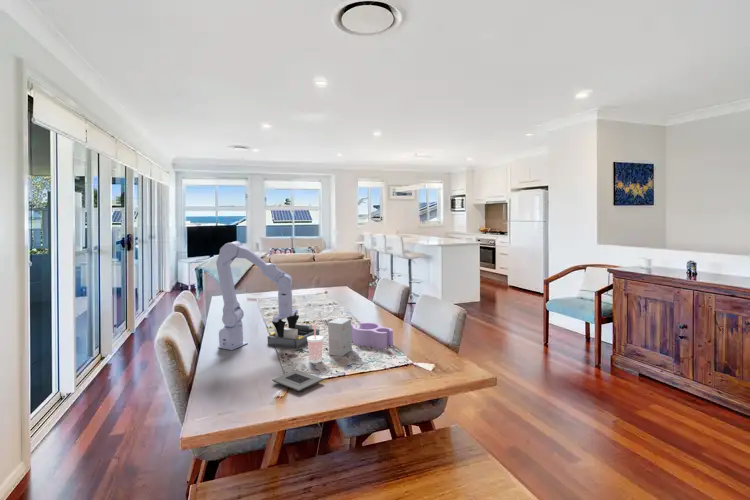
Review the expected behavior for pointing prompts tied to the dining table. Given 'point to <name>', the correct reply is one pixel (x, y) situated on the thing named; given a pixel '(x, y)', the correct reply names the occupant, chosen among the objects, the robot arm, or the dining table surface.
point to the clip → (372, 335)
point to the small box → (339, 336)
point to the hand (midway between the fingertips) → (286, 334)
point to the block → (289, 333)
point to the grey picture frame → (297, 380)
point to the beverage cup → (315, 347)
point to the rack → (303, 333)
